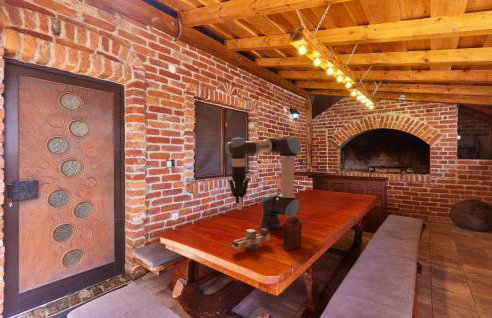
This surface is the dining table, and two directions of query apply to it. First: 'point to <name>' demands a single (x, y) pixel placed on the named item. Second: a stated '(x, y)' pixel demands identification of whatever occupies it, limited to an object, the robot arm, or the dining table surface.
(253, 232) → the block
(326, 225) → the dining table surface
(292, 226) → the wooden figurine
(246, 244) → the beam
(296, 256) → the dining table surface
